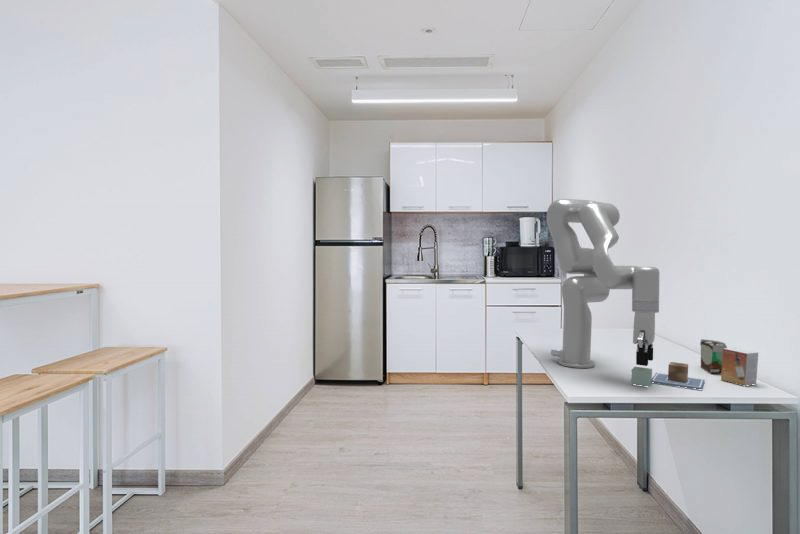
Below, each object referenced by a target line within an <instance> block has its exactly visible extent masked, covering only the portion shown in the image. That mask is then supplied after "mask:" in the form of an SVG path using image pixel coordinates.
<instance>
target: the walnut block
mask: <svg viewBox="0 0 800 534" xmlns="http://www.w3.org/2000/svg"><path fill="white" fill-rule="evenodd" d="M667 371H668V373H667V374H668V381H675V382H682V383H686V382H687V380H688V377H689V363H683V362H676V361H675V362H674V361H670V362H669V364H668V370H667Z"/></svg>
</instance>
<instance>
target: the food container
mask: <svg viewBox="0 0 800 534" xmlns="http://www.w3.org/2000/svg"><path fill="white" fill-rule="evenodd" d="M724 348H728V347H727V345H726V343H725V342H723V341H719V340H712V339H700V368H701V369H702V370H703V369H704V370H703V371H705V372H706V371H707V372H706V373H708V374H709V375H720V373H721V372H722V358H723V349H724Z"/></svg>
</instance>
